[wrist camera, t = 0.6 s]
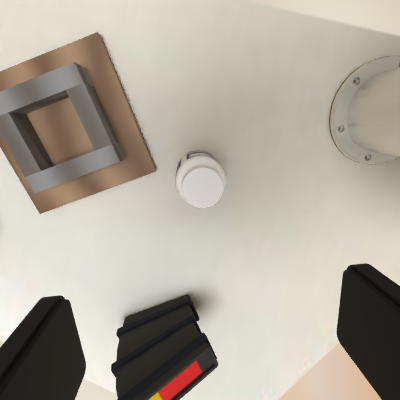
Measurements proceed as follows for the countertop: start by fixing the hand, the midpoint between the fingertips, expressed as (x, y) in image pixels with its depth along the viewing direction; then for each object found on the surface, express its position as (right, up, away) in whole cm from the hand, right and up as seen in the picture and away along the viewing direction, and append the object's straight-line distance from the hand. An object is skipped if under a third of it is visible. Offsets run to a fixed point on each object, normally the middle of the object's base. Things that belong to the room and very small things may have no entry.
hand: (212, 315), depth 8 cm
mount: (-16, +12, +22) cm, 30 cm away
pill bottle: (-1, +8, +24) cm, 26 cm away
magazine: (-6, -13, +30) cm, 34 cm away
